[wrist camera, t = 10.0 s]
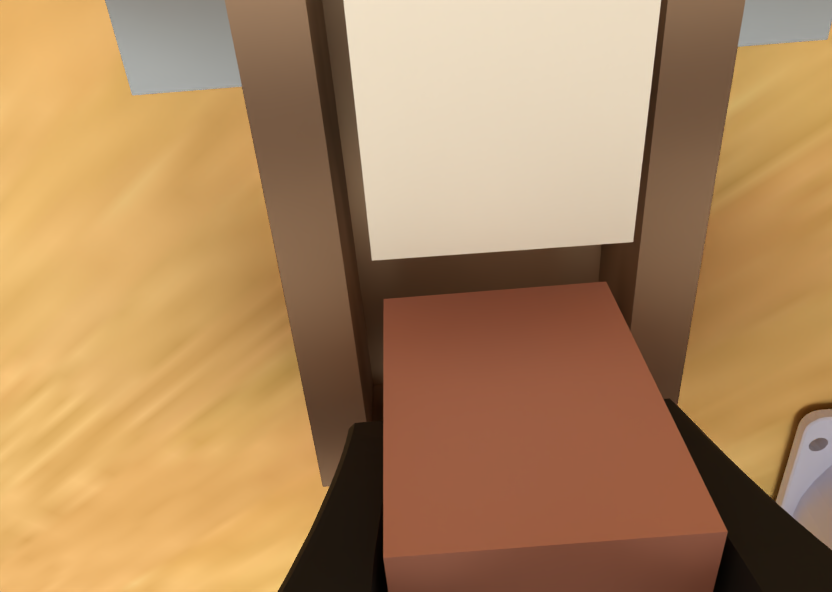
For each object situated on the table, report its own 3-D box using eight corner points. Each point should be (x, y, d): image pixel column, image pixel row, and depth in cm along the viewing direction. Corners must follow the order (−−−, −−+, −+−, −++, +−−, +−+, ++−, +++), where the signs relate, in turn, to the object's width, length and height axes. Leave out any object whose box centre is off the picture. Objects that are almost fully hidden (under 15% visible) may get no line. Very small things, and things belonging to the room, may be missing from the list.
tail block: (592, 443, 15) (683, 712, 11) (401, 458, 15) (409, 733, 11) (605, 281, 13) (728, 531, 8) (383, 299, 13) (383, 557, 8)
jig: (714, 357, 20) (773, 452, 17) (243, 393, 20) (218, 494, 17) (884, -505, 11) (1072, -629, 8) (27, -431, 11) (-105, -524, 8)
